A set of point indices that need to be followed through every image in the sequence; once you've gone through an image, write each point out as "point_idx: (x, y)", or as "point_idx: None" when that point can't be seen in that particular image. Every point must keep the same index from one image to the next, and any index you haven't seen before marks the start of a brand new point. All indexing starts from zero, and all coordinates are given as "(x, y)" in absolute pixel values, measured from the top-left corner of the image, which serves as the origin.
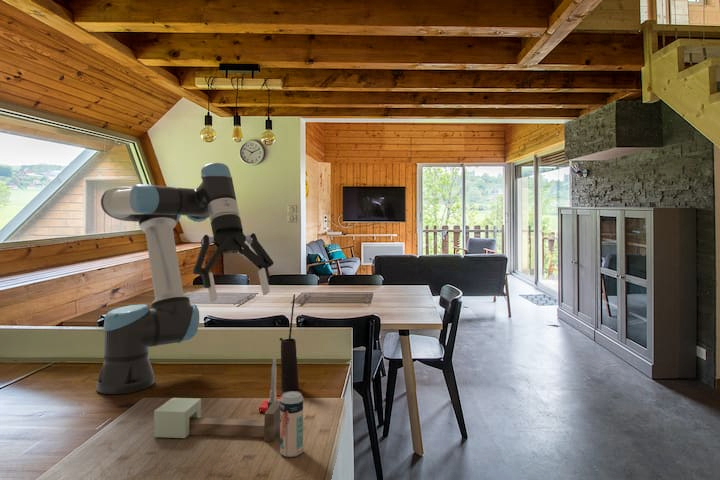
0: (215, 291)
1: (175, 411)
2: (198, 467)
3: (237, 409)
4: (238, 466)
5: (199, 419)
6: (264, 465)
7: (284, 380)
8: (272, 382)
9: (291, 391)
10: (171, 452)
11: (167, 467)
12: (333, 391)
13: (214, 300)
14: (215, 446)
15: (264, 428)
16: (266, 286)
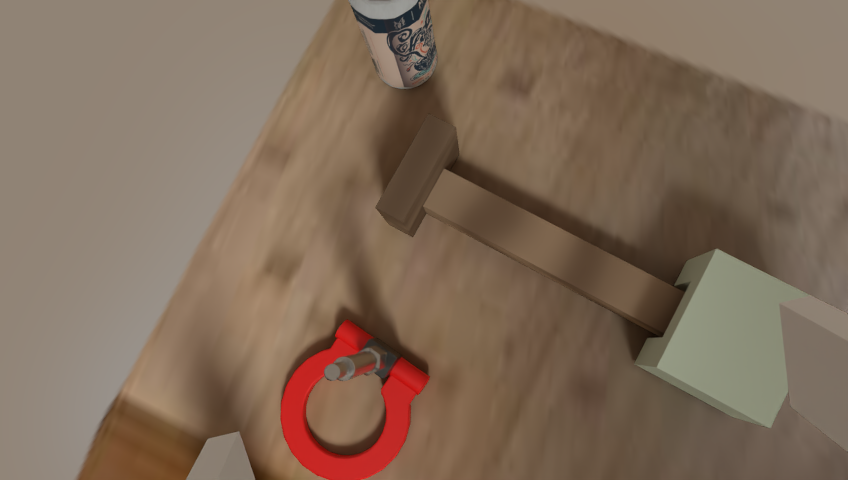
0: (834, 329)
1: (751, 269)
2: (649, 78)
3: (495, 444)
4: (550, 45)
5: (649, 310)
6: (487, 26)
7: None
8: (366, 356)
9: (373, 1)
10: (722, 191)
11: (729, 108)
12: (110, 468)
13: (792, 366)
14: (598, 178)
15: (457, 142)
16: (217, 470)
